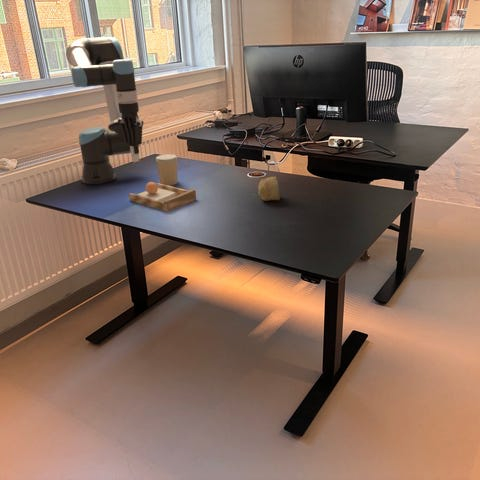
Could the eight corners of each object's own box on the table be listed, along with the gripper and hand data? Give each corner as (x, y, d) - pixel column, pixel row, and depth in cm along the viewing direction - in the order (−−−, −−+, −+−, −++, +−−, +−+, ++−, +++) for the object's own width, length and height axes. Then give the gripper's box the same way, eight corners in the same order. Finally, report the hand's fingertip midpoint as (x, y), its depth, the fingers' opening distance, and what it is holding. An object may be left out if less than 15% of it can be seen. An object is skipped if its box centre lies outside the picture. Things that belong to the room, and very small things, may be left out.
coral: (288, 186, 180) (264, 177, 178) (277, 208, 185) (254, 200, 183) (286, 177, 188) (263, 168, 187) (276, 198, 193) (254, 190, 191)
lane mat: (131, 199, 193) (131, 196, 192) (157, 190, 203) (156, 187, 202) (166, 210, 181) (166, 206, 181) (191, 199, 191) (191, 195, 190)
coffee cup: (181, 179, 215) (179, 153, 210) (176, 186, 207) (174, 159, 202) (161, 179, 216) (158, 154, 211) (156, 186, 208) (153, 159, 203)
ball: (143, 194, 194) (142, 182, 192) (152, 191, 197) (151, 179, 195) (152, 196, 191) (150, 184, 189) (161, 193, 195) (159, 181, 192)
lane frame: (129, 200, 192) (128, 191, 190) (158, 189, 203) (157, 180, 202) (167, 211, 180) (166, 201, 178) (196, 199, 191) (195, 189, 189)
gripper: (109, 102, 184) (118, 161, 194) (131, 104, 177) (139, 165, 187) (124, 99, 190) (132, 157, 199) (146, 101, 182) (153, 161, 192)
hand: (135, 161), depth 193 cm, fingers closed
